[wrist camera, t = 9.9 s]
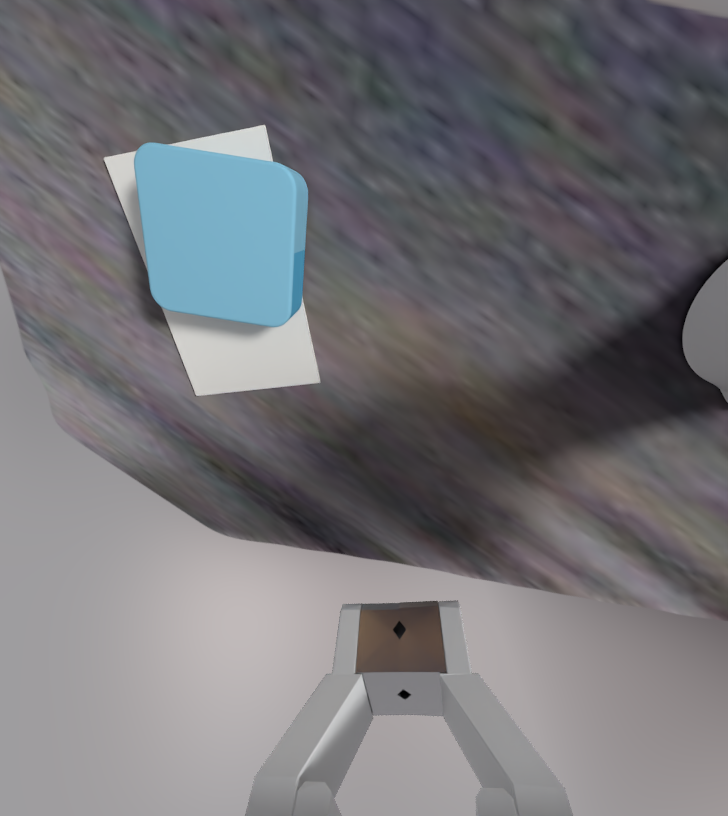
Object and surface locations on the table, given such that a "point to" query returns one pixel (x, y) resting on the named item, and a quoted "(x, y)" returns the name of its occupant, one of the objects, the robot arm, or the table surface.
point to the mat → (216, 338)
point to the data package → (222, 233)
